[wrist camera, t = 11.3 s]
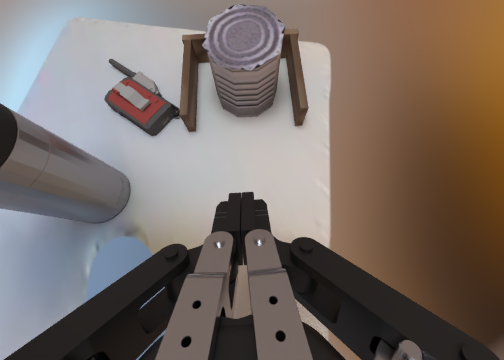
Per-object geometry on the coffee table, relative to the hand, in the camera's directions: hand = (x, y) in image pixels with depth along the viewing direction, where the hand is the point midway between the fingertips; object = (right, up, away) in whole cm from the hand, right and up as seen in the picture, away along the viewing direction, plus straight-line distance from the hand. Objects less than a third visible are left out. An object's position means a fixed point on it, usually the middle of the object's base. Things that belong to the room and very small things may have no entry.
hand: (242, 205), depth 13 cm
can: (0, +18, +27) cm, 33 cm away
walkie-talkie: (-22, +17, +28) cm, 39 cm away
